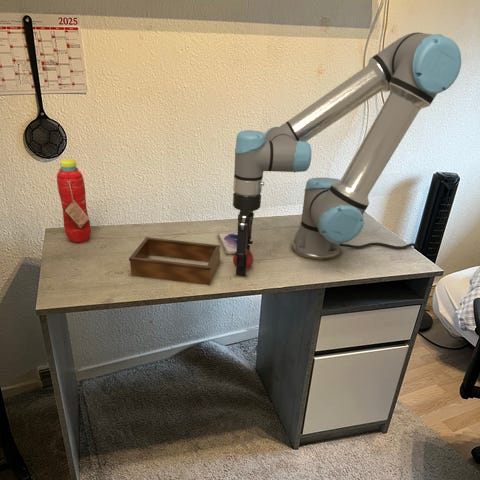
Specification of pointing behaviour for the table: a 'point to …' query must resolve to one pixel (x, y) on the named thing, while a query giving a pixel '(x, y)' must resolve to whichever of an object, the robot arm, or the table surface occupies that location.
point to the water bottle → (73, 201)
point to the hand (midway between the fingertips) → (242, 269)
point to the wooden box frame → (175, 269)
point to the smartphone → (229, 242)
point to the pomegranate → (249, 259)
